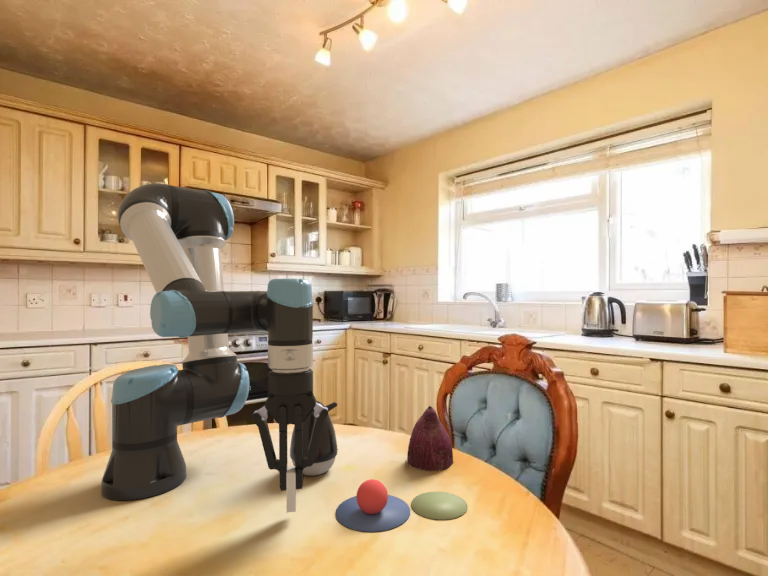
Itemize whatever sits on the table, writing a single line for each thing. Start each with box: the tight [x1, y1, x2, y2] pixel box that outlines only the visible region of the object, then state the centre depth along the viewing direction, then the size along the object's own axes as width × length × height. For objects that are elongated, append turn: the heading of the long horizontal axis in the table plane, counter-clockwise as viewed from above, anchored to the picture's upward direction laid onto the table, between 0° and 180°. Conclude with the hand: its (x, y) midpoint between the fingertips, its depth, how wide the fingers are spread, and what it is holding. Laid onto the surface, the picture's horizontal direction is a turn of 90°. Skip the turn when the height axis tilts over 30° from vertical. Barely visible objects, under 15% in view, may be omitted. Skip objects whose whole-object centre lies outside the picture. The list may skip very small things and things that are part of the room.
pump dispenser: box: [289, 400, 338, 477], centre depth 93 cm, size 10×10×15 cm
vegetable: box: [406, 405, 454, 472], centre depth 96 cm, size 10×10×15 cm
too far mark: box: [410, 491, 468, 521], centre depth 77 cm, size 10×10×1 cm
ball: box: [355, 478, 389, 514], centre depth 75 cm, size 6×6×6 cm
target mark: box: [335, 494, 411, 533], centre depth 75 cm, size 13×13×1 cm
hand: (291, 508), depth 73 cm, fingers closed
